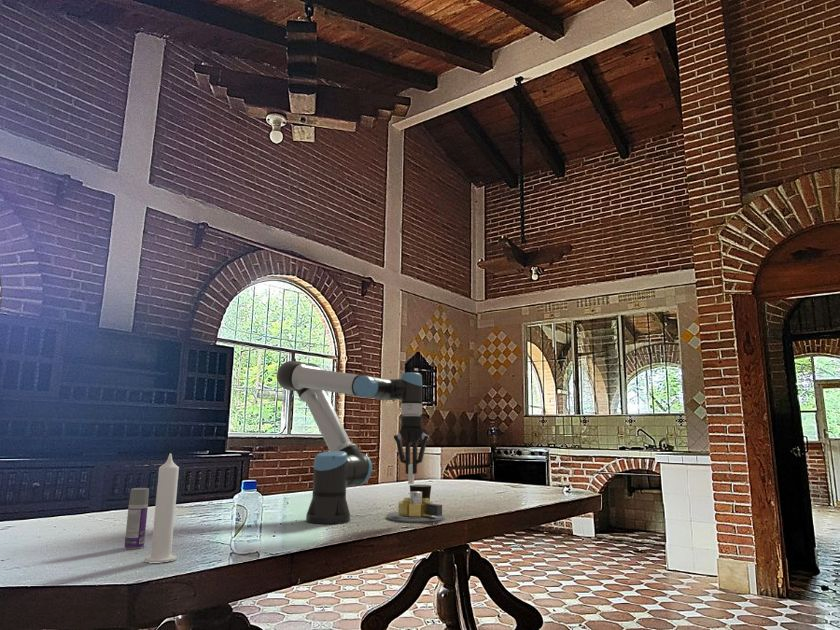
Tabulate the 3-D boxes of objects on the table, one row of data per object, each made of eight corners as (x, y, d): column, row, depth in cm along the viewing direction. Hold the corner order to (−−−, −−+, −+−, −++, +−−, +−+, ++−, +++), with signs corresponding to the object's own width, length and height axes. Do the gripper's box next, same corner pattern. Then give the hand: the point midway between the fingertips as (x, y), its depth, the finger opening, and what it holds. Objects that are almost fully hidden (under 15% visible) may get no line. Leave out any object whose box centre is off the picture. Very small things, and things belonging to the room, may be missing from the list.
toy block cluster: (391, 513, 216) (392, 498, 217) (417, 510, 224) (417, 496, 225) (426, 519, 202) (426, 503, 203) (452, 516, 210) (452, 501, 211)
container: (138, 545, 159) (144, 487, 162) (147, 547, 156) (152, 488, 159) (120, 547, 155) (127, 488, 158) (129, 550, 152) (135, 489, 155)
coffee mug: (428, 513, 227) (429, 486, 229) (407, 512, 229) (407, 486, 231) (434, 509, 238) (434, 484, 240) (413, 509, 240) (413, 483, 242)
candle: (180, 557, 145) (189, 453, 150) (169, 563, 138) (179, 454, 143) (151, 557, 145) (161, 452, 149) (139, 563, 138) (150, 453, 142)
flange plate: (384, 522, 205) (384, 494, 207) (389, 513, 226) (390, 488, 227) (444, 523, 204) (444, 495, 206) (444, 514, 225) (444, 489, 226)
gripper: (391, 415, 211) (390, 484, 206) (427, 415, 208) (427, 484, 203) (396, 416, 218) (396, 482, 213) (431, 416, 215) (431, 483, 210)
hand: (411, 483), depth 208 cm, fingers closed
